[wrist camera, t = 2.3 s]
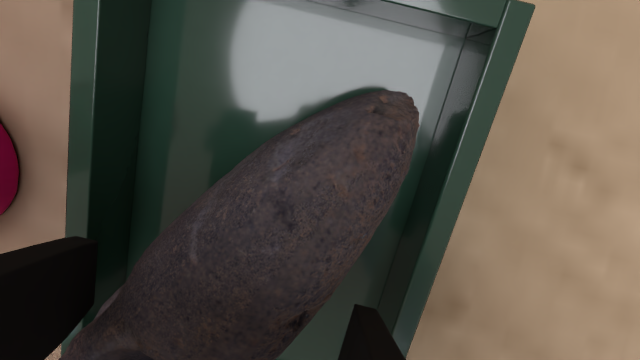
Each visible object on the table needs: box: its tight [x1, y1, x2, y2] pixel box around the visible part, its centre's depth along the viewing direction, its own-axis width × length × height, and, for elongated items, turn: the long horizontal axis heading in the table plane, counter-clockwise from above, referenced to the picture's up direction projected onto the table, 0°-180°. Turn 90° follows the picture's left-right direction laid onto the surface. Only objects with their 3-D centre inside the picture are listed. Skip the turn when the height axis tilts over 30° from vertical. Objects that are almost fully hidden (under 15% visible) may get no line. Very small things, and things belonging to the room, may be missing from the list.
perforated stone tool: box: [59, 90, 420, 360], centre depth 12 cm, size 15×5×7 cm, turn 135°
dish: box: [61, 0, 535, 360], centre depth 14 cm, size 13×19×3 cm, turn 167°
